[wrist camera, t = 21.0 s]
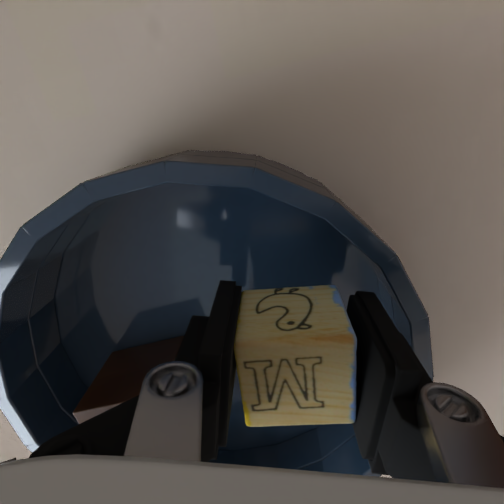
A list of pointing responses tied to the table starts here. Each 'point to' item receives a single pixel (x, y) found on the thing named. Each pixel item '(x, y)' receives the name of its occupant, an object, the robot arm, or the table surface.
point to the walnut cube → (124, 376)
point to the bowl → (182, 286)
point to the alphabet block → (295, 357)
